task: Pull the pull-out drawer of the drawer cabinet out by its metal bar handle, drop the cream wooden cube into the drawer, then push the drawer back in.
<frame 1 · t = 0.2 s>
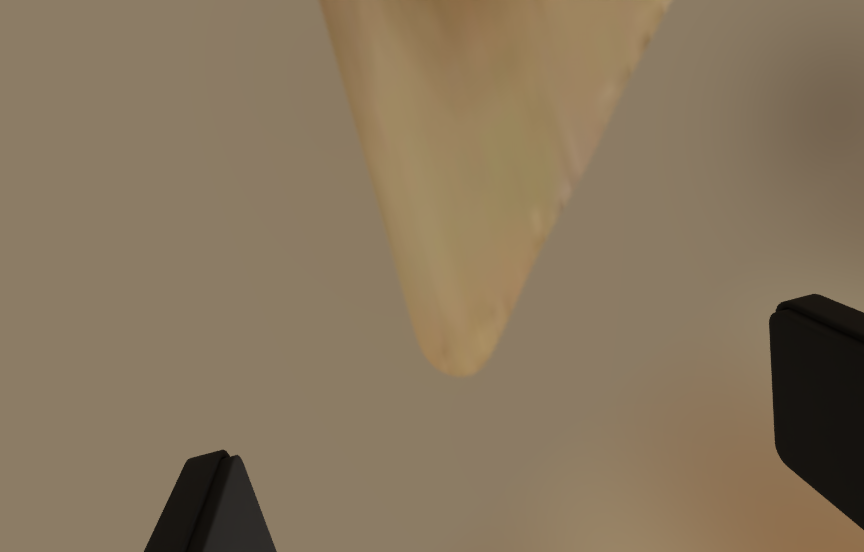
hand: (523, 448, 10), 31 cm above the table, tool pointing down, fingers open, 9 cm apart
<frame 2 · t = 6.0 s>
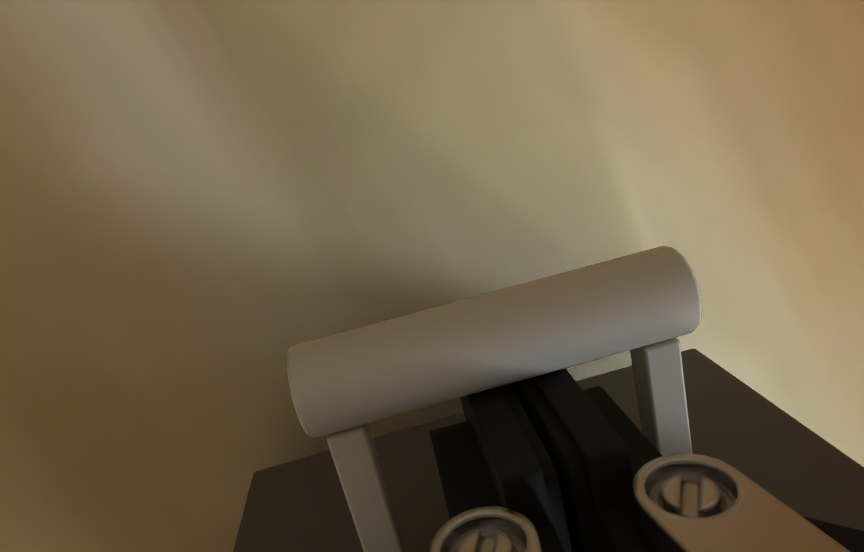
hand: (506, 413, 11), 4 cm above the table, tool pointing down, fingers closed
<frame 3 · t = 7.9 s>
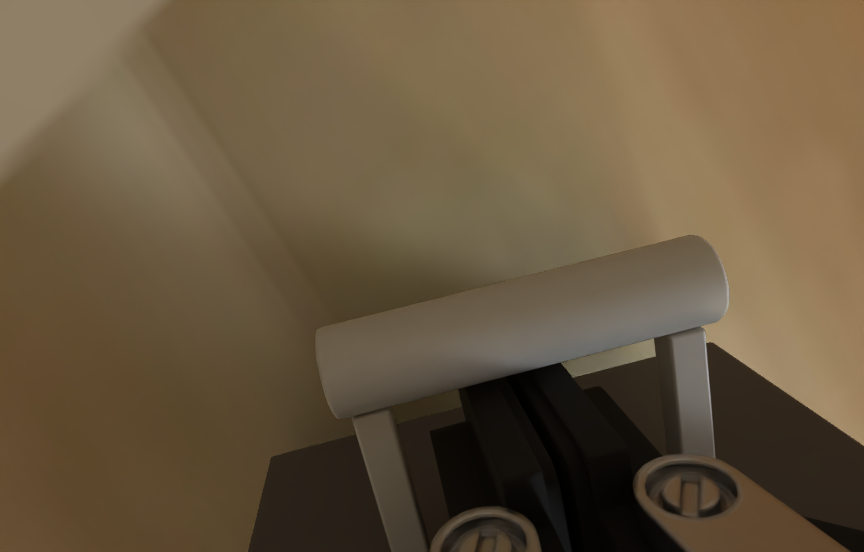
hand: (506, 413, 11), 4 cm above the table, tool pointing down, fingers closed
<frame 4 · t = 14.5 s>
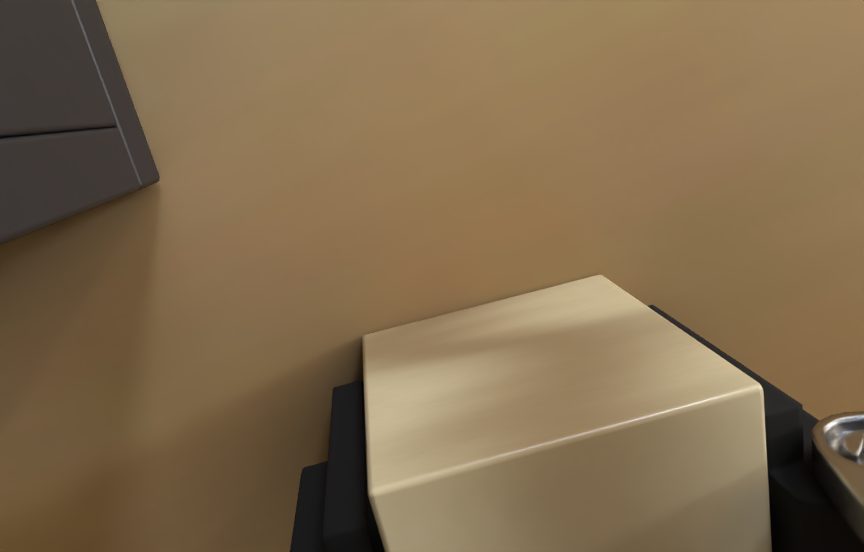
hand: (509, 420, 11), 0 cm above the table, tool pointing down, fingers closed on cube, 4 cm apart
cube: (504, 410, 11), on the table, touching gripper
when the fingers open (8 cm above the table, at t = 21.8 s): cube drops 5 cm, resting on pull-out drawer.
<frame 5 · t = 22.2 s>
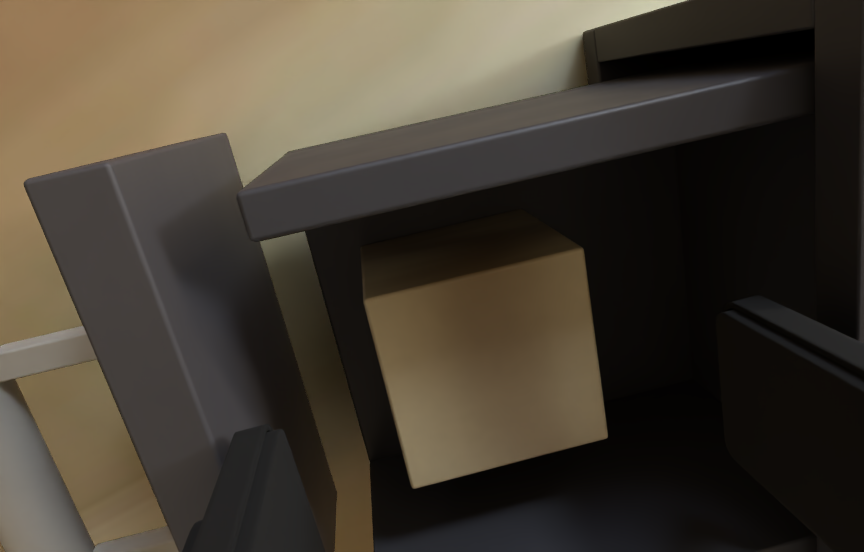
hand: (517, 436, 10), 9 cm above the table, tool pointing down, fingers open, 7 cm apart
cube: (457, 303, 16), point 2 cm above the table, touching pull-out drawer
pull-out drawer: (407, 360, 14), point 5 cm above the table, slide at 10.2 cm, touching cube
drawer cabinet: (821, 192, 19), on the table
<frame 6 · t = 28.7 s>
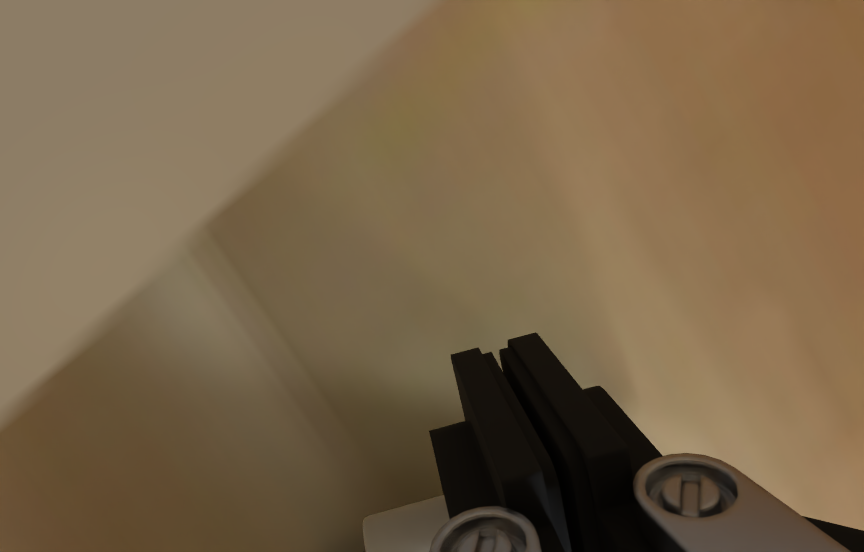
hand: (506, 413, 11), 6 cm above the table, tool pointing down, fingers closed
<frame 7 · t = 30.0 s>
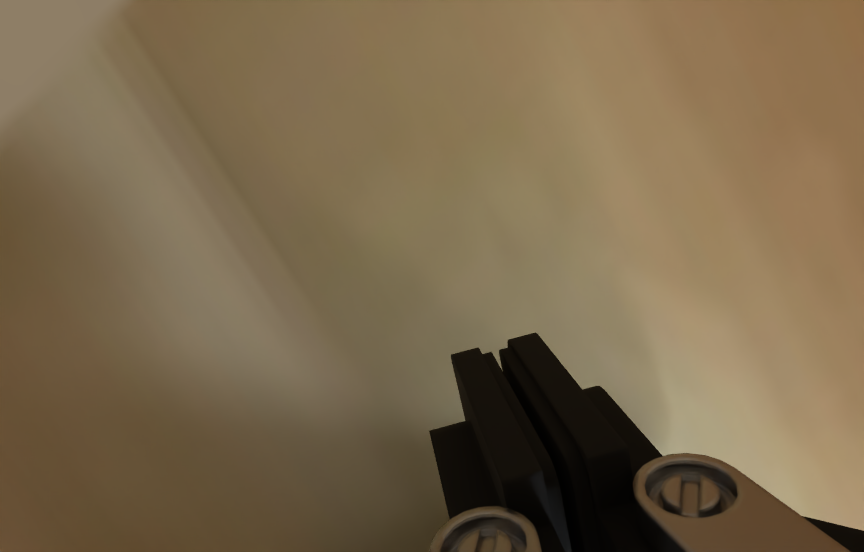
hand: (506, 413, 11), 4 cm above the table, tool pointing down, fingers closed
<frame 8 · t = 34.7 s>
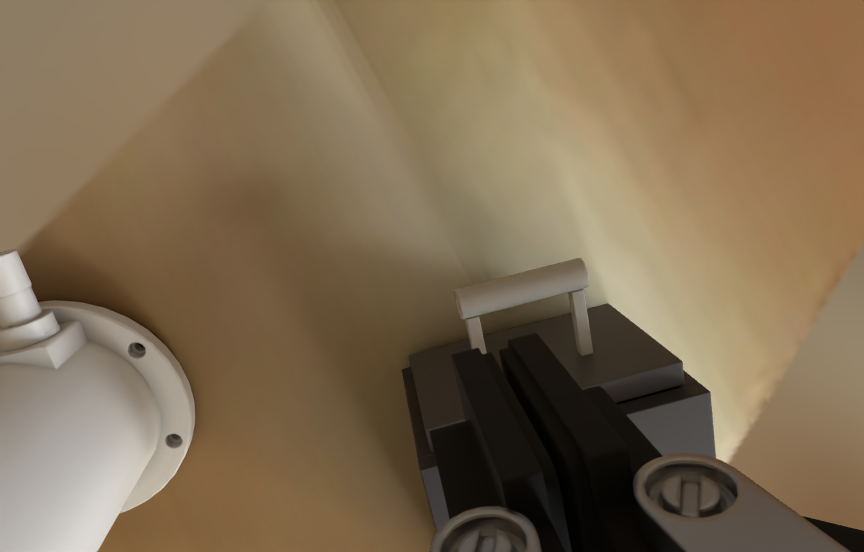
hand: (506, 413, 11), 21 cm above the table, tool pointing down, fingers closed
pull-out drawer: (543, 433, 30), point 5 cm above the table, slide at 0.0 cm, touching cube
drawer cabinet: (530, 448, 36), on the table
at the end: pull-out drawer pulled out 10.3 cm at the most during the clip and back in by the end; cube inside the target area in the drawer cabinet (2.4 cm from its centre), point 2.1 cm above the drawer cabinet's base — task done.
